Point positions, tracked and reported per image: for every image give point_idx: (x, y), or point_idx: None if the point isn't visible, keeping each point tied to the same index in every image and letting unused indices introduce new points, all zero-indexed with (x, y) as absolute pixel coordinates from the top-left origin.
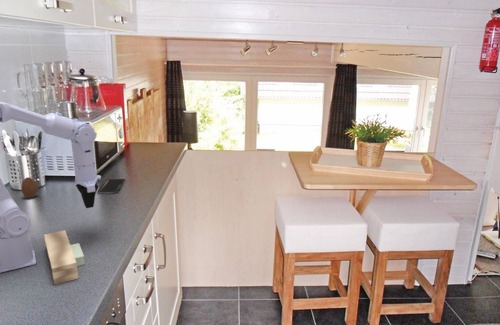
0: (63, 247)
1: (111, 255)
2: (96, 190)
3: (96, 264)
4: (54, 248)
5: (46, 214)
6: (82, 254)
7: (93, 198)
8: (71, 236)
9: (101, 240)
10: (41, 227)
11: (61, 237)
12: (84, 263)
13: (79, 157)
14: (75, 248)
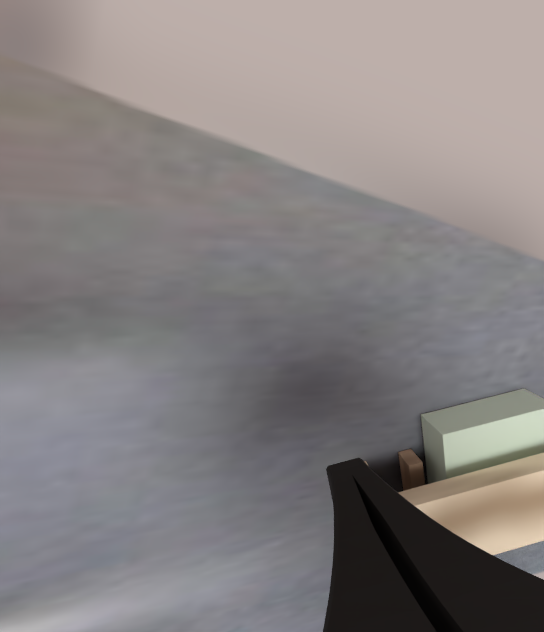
0: (534, 495)
1: (503, 298)
2: (536, 579)
3: (541, 350)
4: (527, 524)
5: (14, 590)
6: (541, 411)
7: (414, 513)
8: (283, 459)
9: (362, 340)
10: (160, 577)
11: (442, 518)
12: (527, 391)
13: None
14: (482, 441)
